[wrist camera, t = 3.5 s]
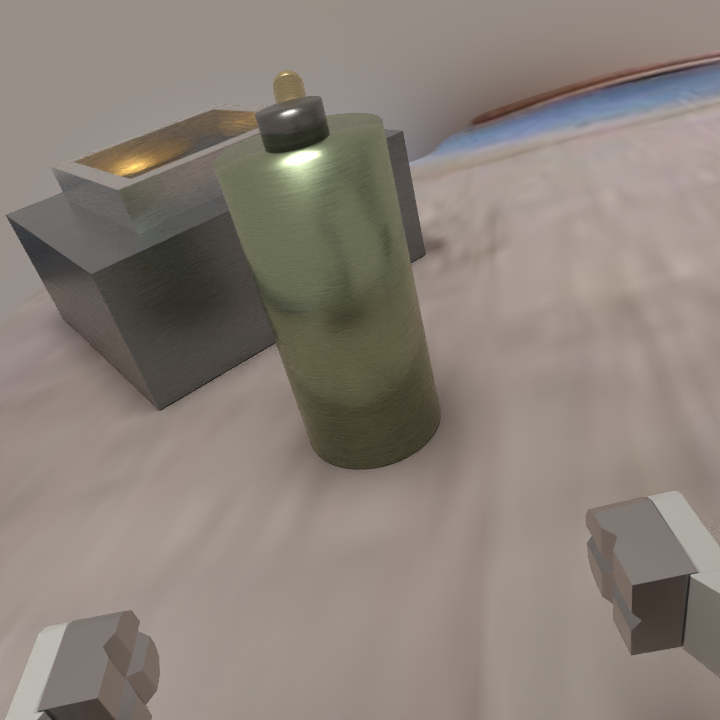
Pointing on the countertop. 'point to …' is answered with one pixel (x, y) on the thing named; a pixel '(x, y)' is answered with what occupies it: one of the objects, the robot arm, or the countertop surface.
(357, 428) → the spout can
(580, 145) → the countertop surface
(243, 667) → the countertop surface
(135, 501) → the countertop surface
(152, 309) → the gearbox housing
